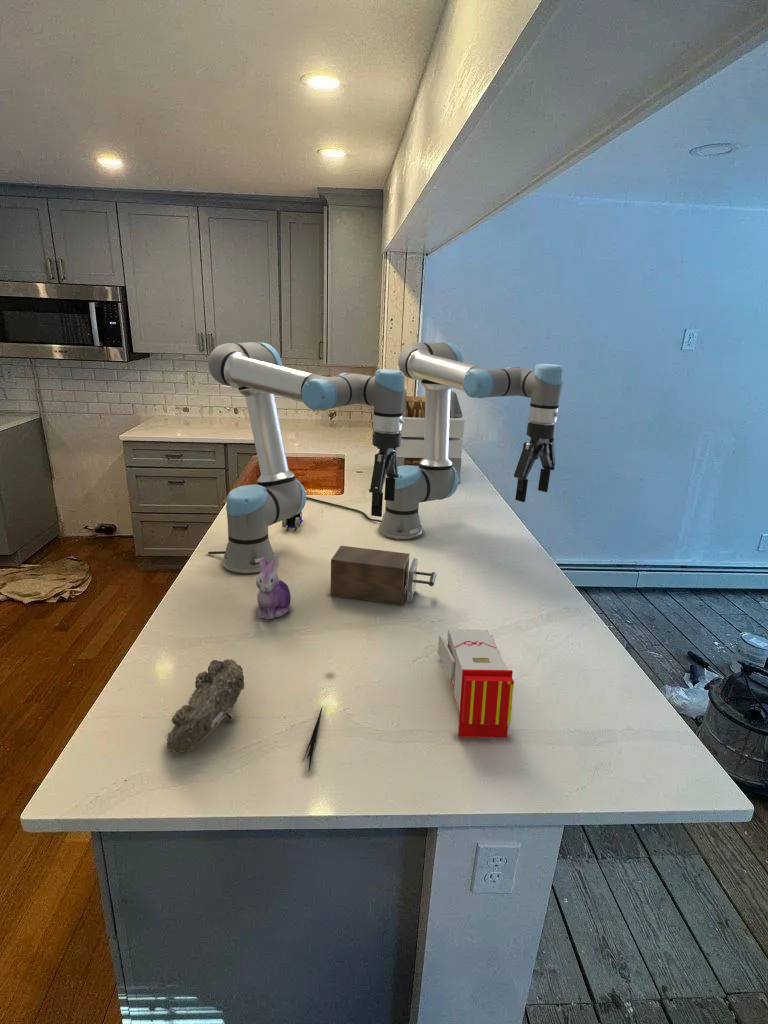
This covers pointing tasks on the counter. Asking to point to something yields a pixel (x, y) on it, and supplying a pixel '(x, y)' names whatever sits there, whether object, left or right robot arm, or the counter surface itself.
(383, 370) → the left robot arm
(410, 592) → the drawer
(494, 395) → the right robot arm
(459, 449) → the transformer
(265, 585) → the figurine
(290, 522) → the figurine character
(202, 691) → the fossil
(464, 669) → the toy
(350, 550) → the cabinet
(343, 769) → the counter surface
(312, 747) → the feather
